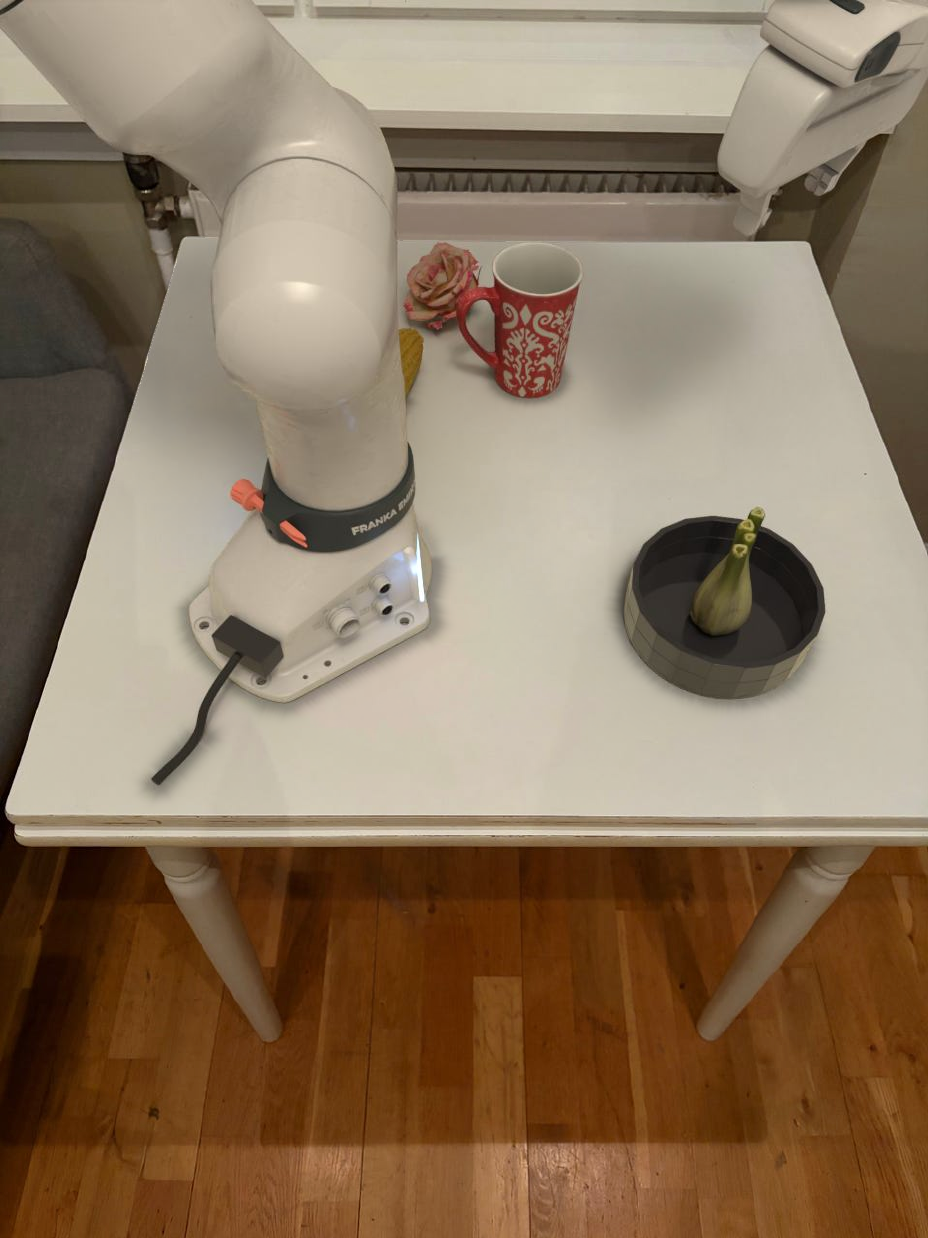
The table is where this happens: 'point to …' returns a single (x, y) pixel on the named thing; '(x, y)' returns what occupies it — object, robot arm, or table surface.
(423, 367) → the table surface
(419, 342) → the food
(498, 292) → the mug
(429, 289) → the flower
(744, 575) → the fennel bulb
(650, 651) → the pan
